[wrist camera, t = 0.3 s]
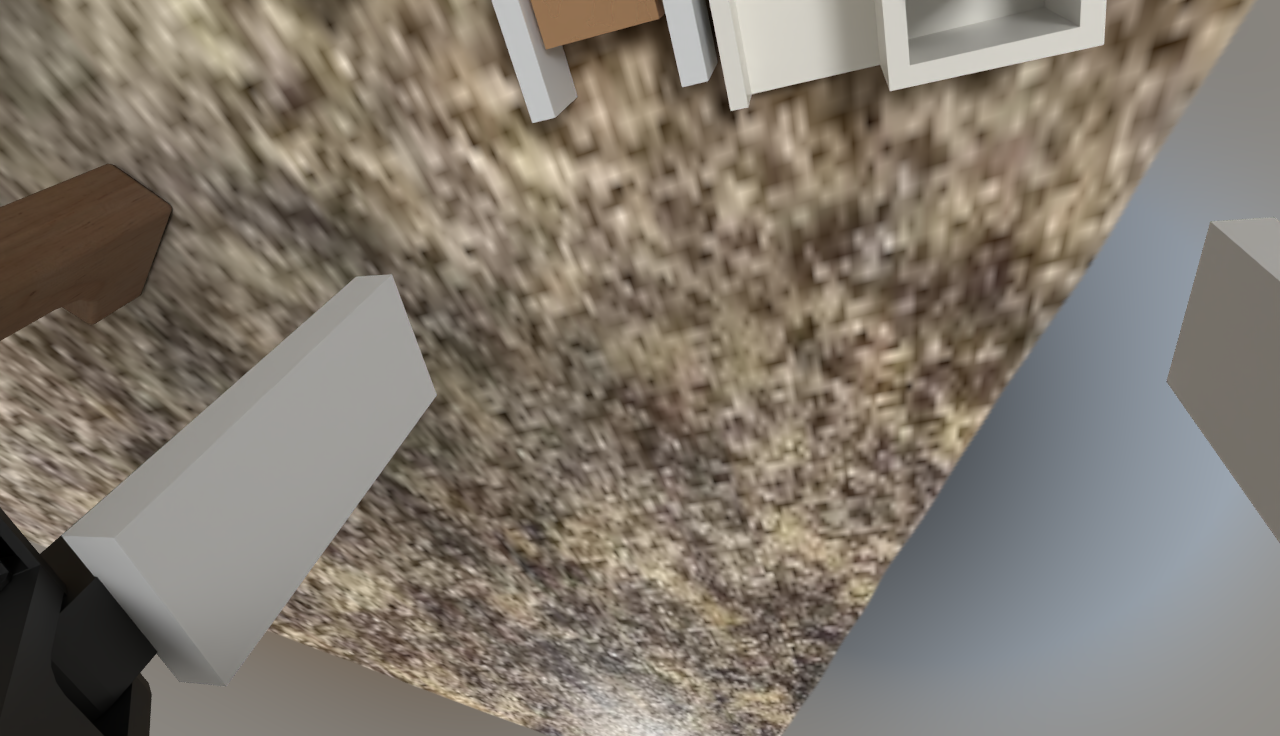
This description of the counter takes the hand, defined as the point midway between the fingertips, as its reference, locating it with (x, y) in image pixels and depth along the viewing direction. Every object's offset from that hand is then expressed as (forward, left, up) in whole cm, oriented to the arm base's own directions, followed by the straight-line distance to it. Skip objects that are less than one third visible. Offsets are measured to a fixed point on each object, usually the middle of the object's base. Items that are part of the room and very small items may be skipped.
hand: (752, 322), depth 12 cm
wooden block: (+2, -44, -27) cm, 51 cm away
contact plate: (-4, -8, -26) cm, 27 cm away
